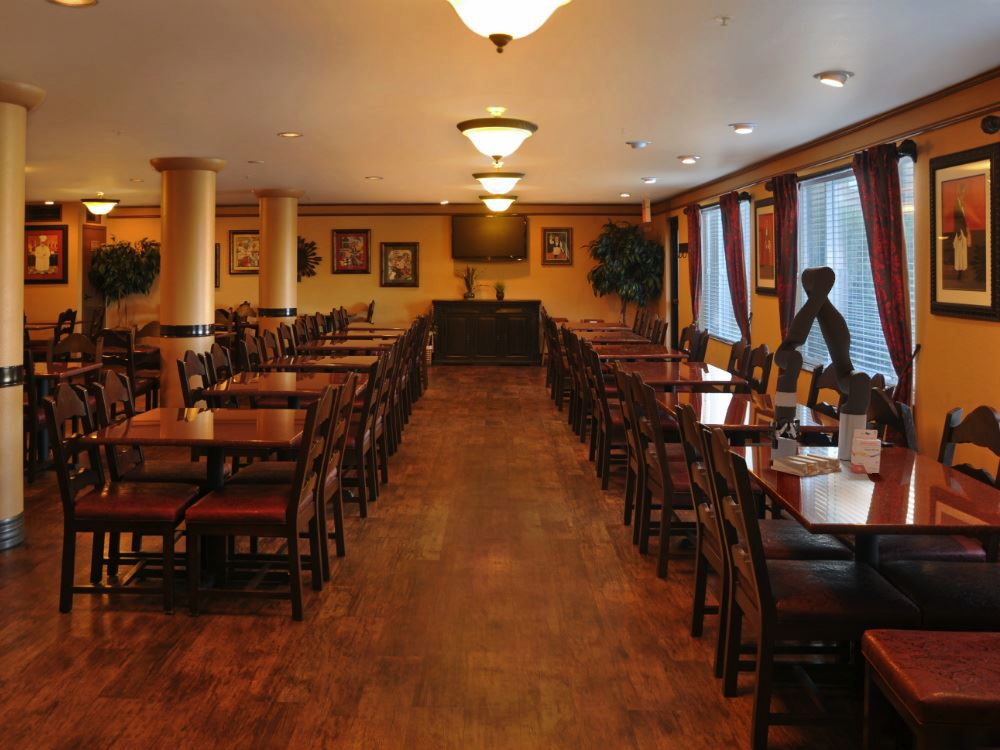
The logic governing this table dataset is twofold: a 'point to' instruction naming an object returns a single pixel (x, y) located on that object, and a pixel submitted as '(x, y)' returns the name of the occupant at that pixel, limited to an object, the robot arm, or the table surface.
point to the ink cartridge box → (865, 452)
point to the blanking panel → (784, 448)
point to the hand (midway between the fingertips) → (782, 448)
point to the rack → (807, 464)
